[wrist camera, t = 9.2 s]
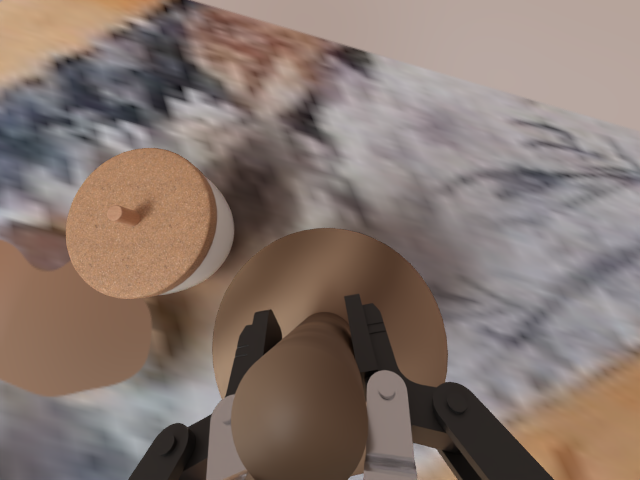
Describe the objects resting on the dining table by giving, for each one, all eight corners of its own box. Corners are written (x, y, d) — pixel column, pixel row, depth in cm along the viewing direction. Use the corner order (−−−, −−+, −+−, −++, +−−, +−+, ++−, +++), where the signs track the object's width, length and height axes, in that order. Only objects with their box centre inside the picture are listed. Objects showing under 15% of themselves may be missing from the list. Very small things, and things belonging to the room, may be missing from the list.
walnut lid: (180, 366, 17) (-42, 478, 7) (298, 195, 18) (243, 92, 8) (361, 518, 15) (394, 997, 5) (482, 308, 16) (704, 347, 6)
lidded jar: (153, 188, 27) (51, 138, 17) (254, 184, 26) (202, 128, 16) (141, 294, 25) (21, 300, 16) (249, 294, 24) (189, 301, 15)
